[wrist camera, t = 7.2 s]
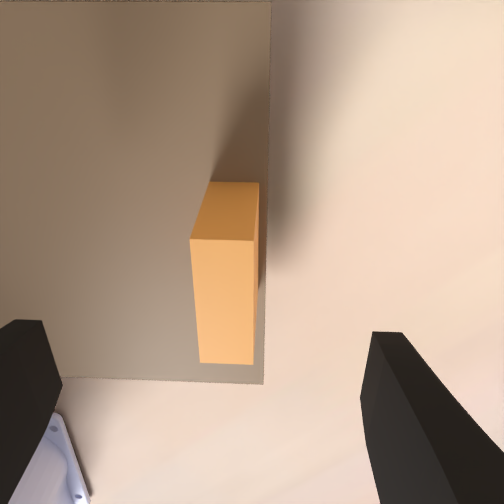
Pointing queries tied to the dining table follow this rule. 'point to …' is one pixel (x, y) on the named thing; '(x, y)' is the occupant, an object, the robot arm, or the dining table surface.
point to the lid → (137, 184)
